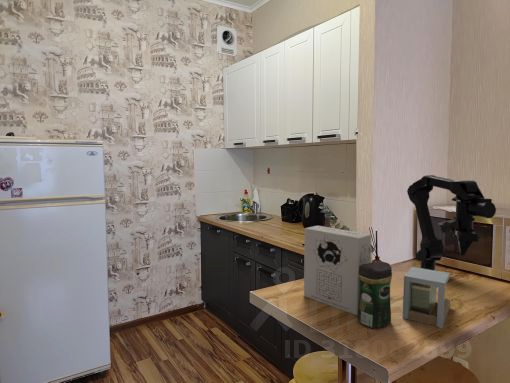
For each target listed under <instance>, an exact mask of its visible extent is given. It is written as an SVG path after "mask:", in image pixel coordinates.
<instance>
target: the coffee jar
mask: <svg viewBox="0 0 510 383" xmlns="http://www.w3.org/2000/svg"><path fill="white" fill-rule="evenodd" d="M358 275H359V279H360V297H359V307H358V315H357V321H358V322H359V323H360V324H361V325H362V326H364V327H366V328H371V329H380V328H384V327H386V326H388V325H389V324H391V323H392V310H391V309H392V308H391V306H392V305H391V282H392V279H393V272H392V266H391V264H390V262H389V263H388V262H386V261H382V260H377V261H372V262H371V261H370V263H367V264H362V265H360V266H359V274H358Z"/></svg>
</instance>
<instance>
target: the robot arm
mask: <svg viewBox="0 0 510 383" xmlns="http://www.w3.org/2000/svg"><path fill="white" fill-rule="evenodd" d="M435 187H436V188H439V189H443V190H447V191H449V192H451V194H453V195H455V196H454V197H453V198H451V201H452V202H456V204H455V215H454V216H453V218H452V219H449V220H445V221H444V220H443V221H441V222H438V223H437V225H438V227H439V231H440V232H441V233H442V234H444V233H447V232H451V233H454V232H455V233H454V234H452V236H453V237H454V238H455V239H456V240H457V243H458V248H459V254H460V255H461V256H465V255H466V253H467V251H468V250H469V248H470V246H471V245H472V243H477V242H478V243H479V240H480V239H479V238H480V237H479V235H478V234H477V233H475V228H474V222H475V221H476V220H475V219H476V218H475V217H479V218H484V219H491V218H493V217H494V216H495V215H496V212H497V208H496V206H495V203H493V200H492V198H485V196H484V194H483V193H482V191H481V189H480V188H479V185H478V183H477V181H475V180H456V179H455V180H454V179H449V178H445V177H442V176H441V177H440V176H437V175H434V174H433V175H432V174H429V175H428V174H427V175H423V176H422V177H421V178H420V179H417V180H416V181H415V182H413V183H412V184H410V185H409V187H408V188H407V190H406V192H407V196H408V198H409V201H410V202H411V203H412V204H413V205H414V207H415V210H416V215H417V216H416V217H417V219H418V224H419V229H420V233H421V241H420V242H419V243H420V244H419V247H420V249H418V251H417V252H416V253H415V259H416V260H418V261H420V267H419V268H422V269H428V270H434V271H436V261H441V260H442V258H443V254H444V250H445V247H444V244H443V239H441V238H437V236H436V235H435V230H434V226H433V222H432V217H431V213H430V209H429V205H428V202H429V200H430V193H431V192H432V191H433V189H434V188H435Z"/></svg>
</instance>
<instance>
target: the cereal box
mask: <svg viewBox="0 0 510 383" xmlns="http://www.w3.org/2000/svg"><path fill="white" fill-rule="evenodd" d="M371 248H372V234H370V233H364V232H357V231H353V230H346V229H342V228H341V229H339V228H335V227H329V226H323V225H313V226H309V227H305V228H304V249H303V251H304V253H303V254H304V257H303V258H304V261H303V263H304V264H303V265H304V266H303V267H304V268H303V273H304V275H303V297H304V298H305V297H306V298H308V299H310V300H313V301H316V302H319V303H321V304H324V305H328V306H330V307H333V308H335V309H338V310H341V311H343V312H346V313H349V314H351V315H354V316H358V307H359V297H360V279H359V275H358V274H359V266H360V265H362V264H367V263H371V257H372V256H371V255H372V249H371Z"/></svg>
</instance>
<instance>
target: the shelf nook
mask: <svg viewBox="0 0 510 383" xmlns="http://www.w3.org/2000/svg"><path fill="white" fill-rule="evenodd" d="M449 280H450V272H446V271H439V270H435V271H434V270H428V269H422V268H420V267H416V266H411V267H410V268H409V269H408V270H407V272H406V273H405V275H403V291H402V292H403V296H402V298H403V299H402V319H404V320H413V321H417V322H420V323H425V324H429V325H433V326H436V327H438V328H441V329H443V328H444V326H445V322H446V321H447V317H448V314H449V312H450V309H451V298H447V297H446V298H445V296H446V286H447V283H448V281H449ZM413 283H419V284H424V285H430V286H435V287H437V288H438V292H437V313H436V314H437V315H436V316H435V315H433V314H431V315H428V314H424V313H420V312H416V311H411V299H412V284H413Z"/></svg>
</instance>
